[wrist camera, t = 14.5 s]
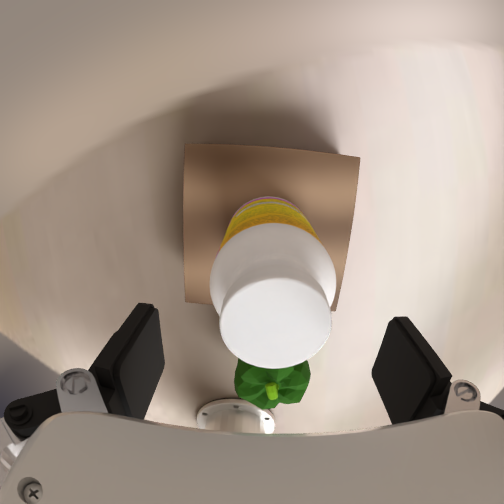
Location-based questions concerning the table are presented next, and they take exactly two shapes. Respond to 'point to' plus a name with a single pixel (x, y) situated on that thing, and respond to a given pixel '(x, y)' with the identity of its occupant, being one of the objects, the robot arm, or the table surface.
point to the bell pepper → (271, 384)
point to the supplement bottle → (272, 285)
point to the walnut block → (261, 185)
